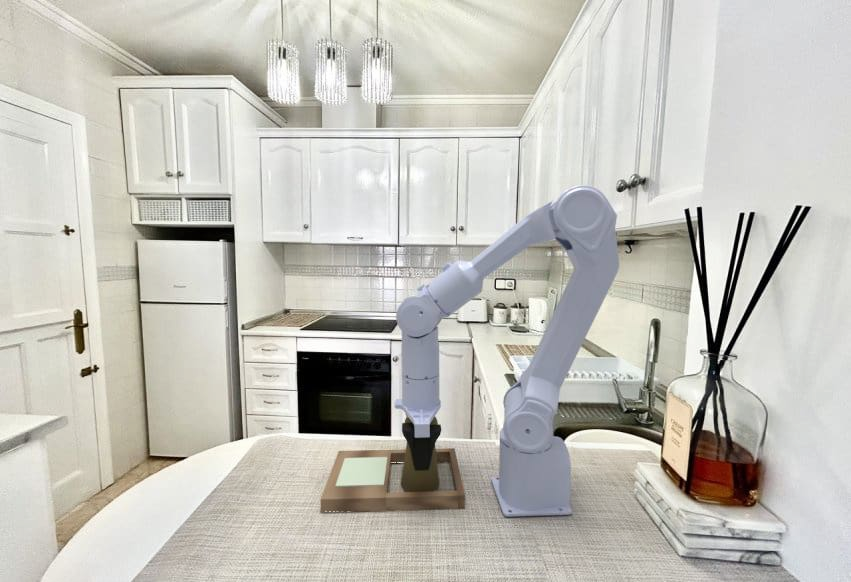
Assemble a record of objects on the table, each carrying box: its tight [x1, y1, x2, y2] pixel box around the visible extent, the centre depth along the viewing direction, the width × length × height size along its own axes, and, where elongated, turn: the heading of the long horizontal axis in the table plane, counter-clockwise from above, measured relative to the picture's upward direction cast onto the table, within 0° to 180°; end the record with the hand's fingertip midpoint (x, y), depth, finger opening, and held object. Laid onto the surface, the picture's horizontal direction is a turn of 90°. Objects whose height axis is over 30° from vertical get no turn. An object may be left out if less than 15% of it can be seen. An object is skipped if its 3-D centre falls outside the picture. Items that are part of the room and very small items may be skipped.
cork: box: [400, 416, 440, 492], centre depth 54 cm, size 6×6×11 cm
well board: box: [319, 447, 466, 513], centre depth 54 cm, size 20×12×2 cm, turn 92°
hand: (421, 458), depth 54 cm, fingers closed on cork, 5 cm apart
